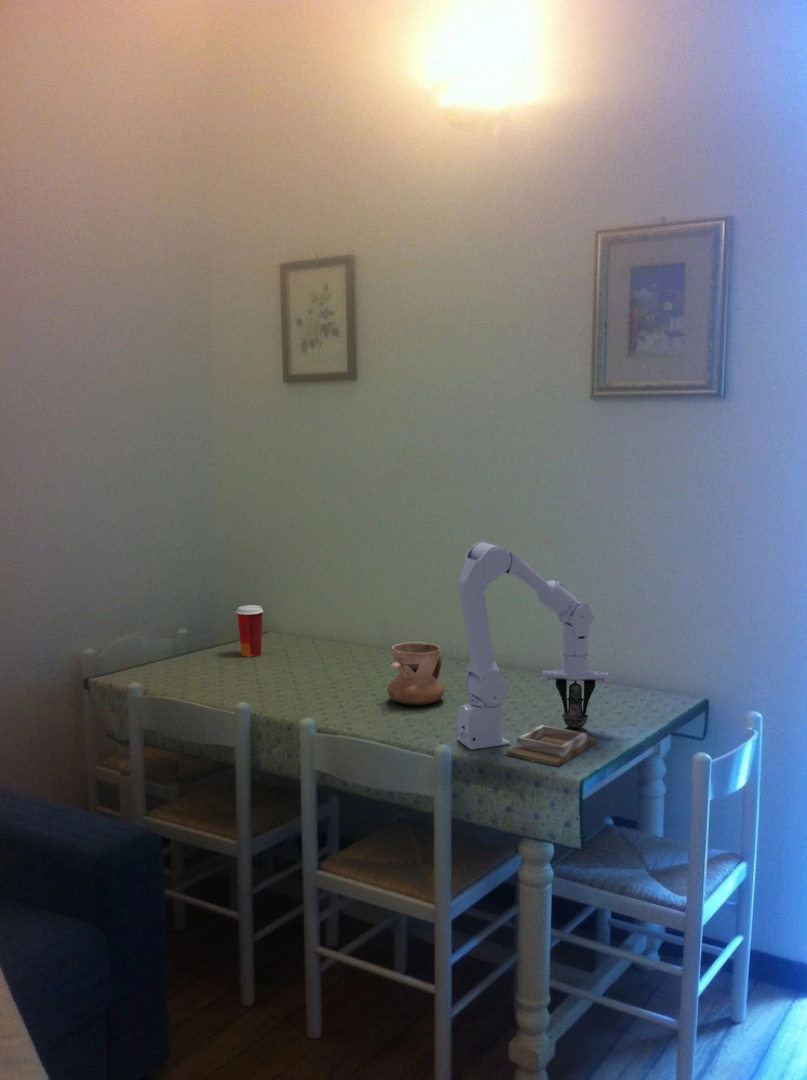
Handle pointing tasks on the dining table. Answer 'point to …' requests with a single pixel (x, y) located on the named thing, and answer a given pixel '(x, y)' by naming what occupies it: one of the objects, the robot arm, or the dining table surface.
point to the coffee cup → (250, 629)
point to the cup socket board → (551, 745)
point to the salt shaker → (575, 710)
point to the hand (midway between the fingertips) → (575, 711)
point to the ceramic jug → (416, 673)
